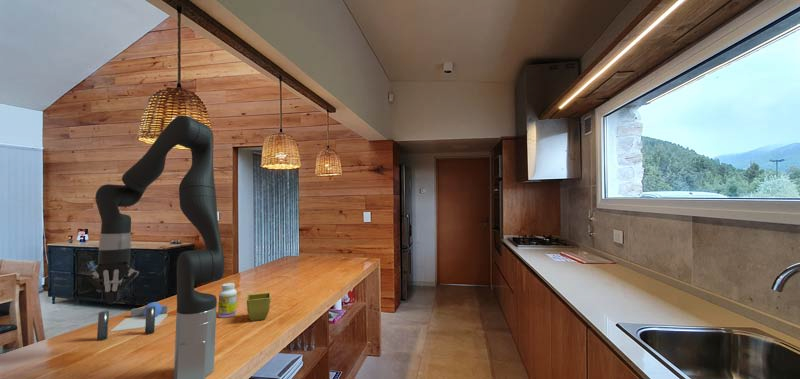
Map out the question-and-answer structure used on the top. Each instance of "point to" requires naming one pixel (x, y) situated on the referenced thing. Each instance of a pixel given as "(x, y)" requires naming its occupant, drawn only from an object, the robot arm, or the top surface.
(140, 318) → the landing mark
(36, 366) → the top surface
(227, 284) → the supplement bottle
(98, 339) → the left post
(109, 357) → the top surface
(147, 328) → the right post
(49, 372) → the top surface
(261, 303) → the flower pot
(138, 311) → the stopper wall
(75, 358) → the top surface
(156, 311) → the ball
